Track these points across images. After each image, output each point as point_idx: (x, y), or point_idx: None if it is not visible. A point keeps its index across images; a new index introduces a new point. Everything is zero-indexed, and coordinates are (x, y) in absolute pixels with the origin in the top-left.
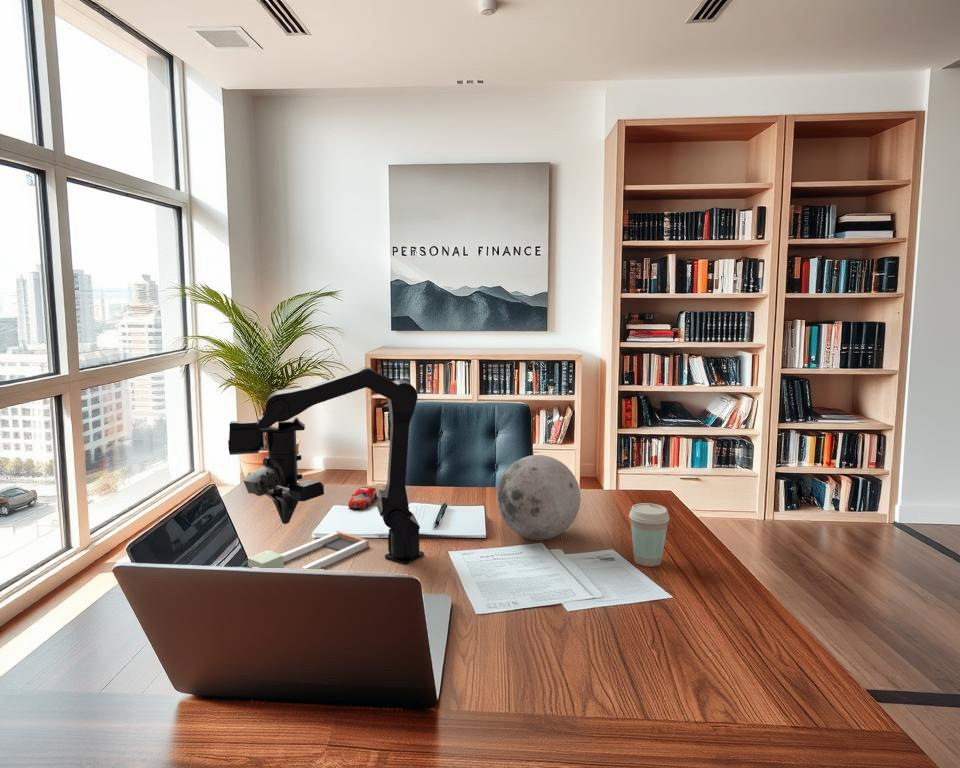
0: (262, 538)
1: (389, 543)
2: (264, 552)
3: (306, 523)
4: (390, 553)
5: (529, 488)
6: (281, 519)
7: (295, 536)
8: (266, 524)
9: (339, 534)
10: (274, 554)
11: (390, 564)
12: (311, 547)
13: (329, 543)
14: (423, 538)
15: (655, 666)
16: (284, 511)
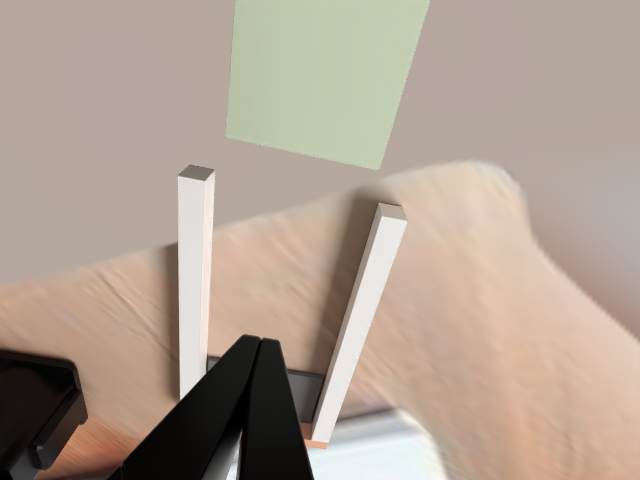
0: (588, 366)
1: (45, 415)
2: (372, 127)
3: (488, 470)
4: (66, 383)
5: None
6: (276, 367)
7: (468, 403)
8: (629, 443)
9: (306, 435)
10: (287, 128)
11: (21, 336)
12: (337, 350)
13: (311, 391)
14: (103, 468)
15: None
16: (131, 458)
